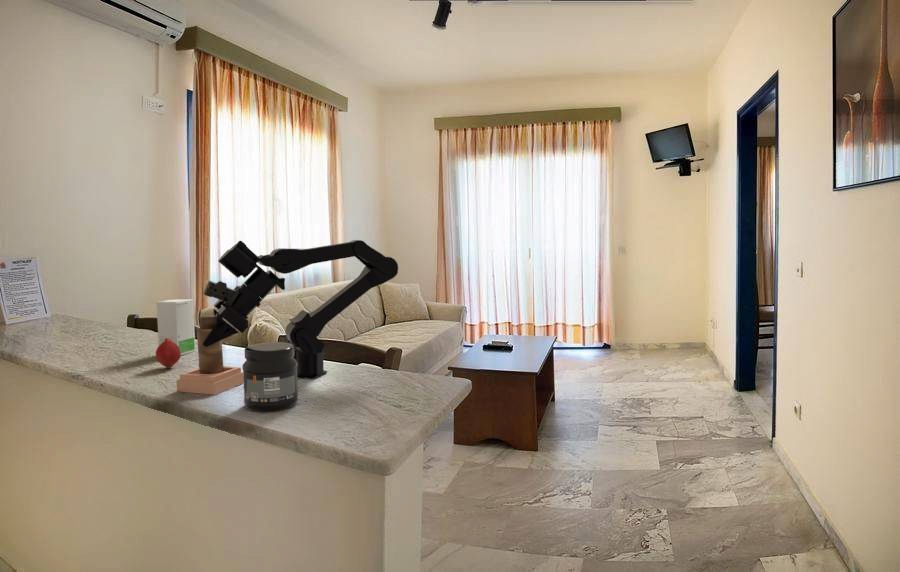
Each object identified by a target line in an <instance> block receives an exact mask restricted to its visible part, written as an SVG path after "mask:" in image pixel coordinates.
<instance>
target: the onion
mask: <svg viewBox="0 0 900 572" xmlns="http://www.w3.org/2000/svg"><path fill="white" fill-rule="evenodd" d="M181 356H182V355H181V352H180V348H179V346H178V345H177V344H176V343H174V342H172V341H171V340H170V339H169V338H166V339H165V341H164V342H163V343H161V344H160V345H159V344H158V346H157V348H156V350H155V358H156V361H157V362H158V363H159V364H160V365H162V366H164V367H165V368H166V369H171V368H172V367H173V366H174V365H176V364H177V363H178V362H179V361H180V358H181Z"/></svg>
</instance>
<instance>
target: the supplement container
mask: <svg viewBox="0 0 900 572" xmlns="http://www.w3.org/2000/svg"><path fill="white" fill-rule="evenodd" d="M295 350H296V348H295V346H294V344H293V343H291V342H290V343H289V342H279V341H277V342H275V341H274V342H273V341H272V342H261V343H254V344H251V345H248V346H246V347H244V358H245V361H244V362H243V364H242V366H241V370H242V372H243V378H244V383H243V404H244V406H245V407H246V409H248V410H251V411H253V412H258V413H259V412H260V413H268V412H269V413H270V412H280V411H283V410H287V409H289V408H291V407H293V406H295V404H297V403H298V400H299V393H298V392H299V389H298V386H299V385H298V378H297V365H298V363H297V360H296V359H295V358H294V357H293V356H294V355H295Z"/></svg>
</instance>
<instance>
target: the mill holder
mask: <svg viewBox="0 0 900 572" xmlns="http://www.w3.org/2000/svg"><path fill="white" fill-rule="evenodd" d="M223 369H224V370H223V371H222V372H220V373H216V374H200V372H199V367H197V368H195V369H191V370H188V371H185V372H182V373H179V379H176V380H175V381H176V392H182V393H183V392H185V393H194V394H205V395H214V396H216V395H218V394H221V393H223V392H226V391H228V390H230V389H232V388H235V387H237V386H240V385H242V384H243V385H244V378H243V371H242V366H241V367H239V366H229V365H228V366H227V365H225V366H224V365H223Z"/></svg>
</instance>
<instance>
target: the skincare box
mask: <svg viewBox="0 0 900 572" xmlns="http://www.w3.org/2000/svg"><path fill="white" fill-rule="evenodd" d="M194 315H195V314H194V299H192V298H191V299H186V298H185V299H166V300H160V301H156V319H157V335H158V336H157V337H158V346H159V345H160V344H161V343H163V342H164V341H165V339H166V338H169V339H170V340H171V341H172V342H174V343H176V344H177V345H178V346H179V348H180V352H181V356H184V355H187V354H191V353H195V352H196V351H197V350H196V349H197V348H196V336H195V335H196V334H195V332H196V331H195V316H194Z"/></svg>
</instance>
